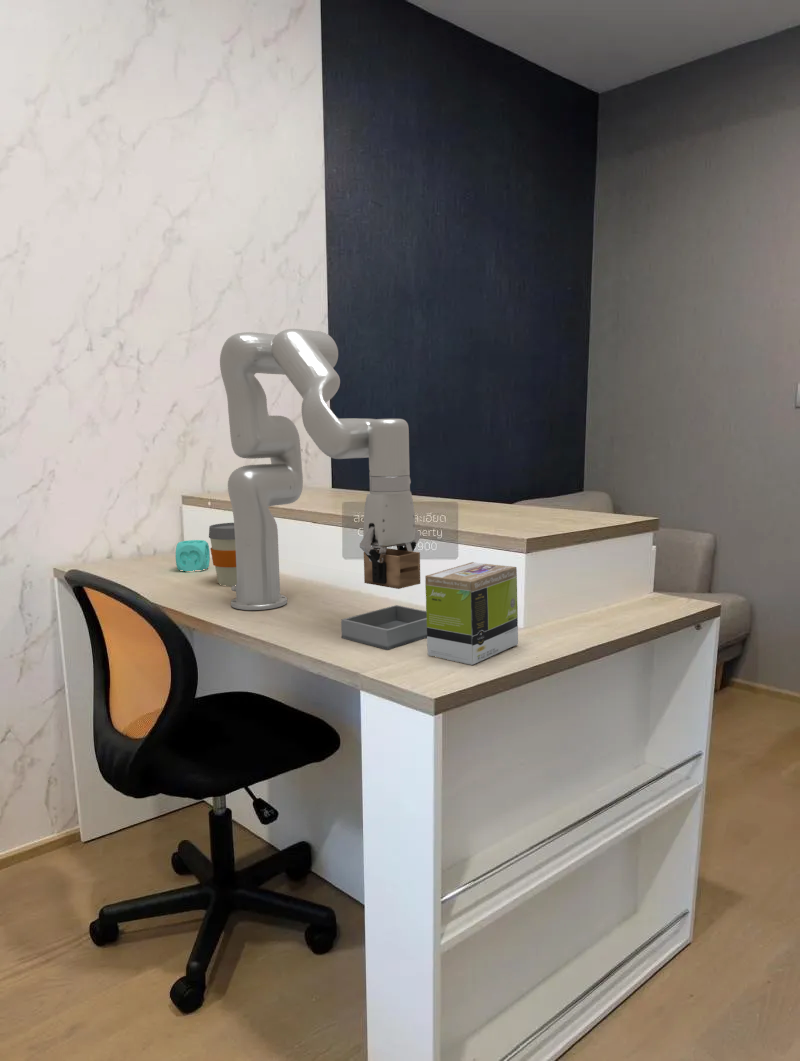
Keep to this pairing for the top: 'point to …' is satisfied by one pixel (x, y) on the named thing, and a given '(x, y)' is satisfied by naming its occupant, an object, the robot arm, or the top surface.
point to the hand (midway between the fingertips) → (392, 579)
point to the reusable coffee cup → (224, 552)
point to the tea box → (471, 612)
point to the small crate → (396, 568)
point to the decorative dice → (192, 555)
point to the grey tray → (386, 627)
